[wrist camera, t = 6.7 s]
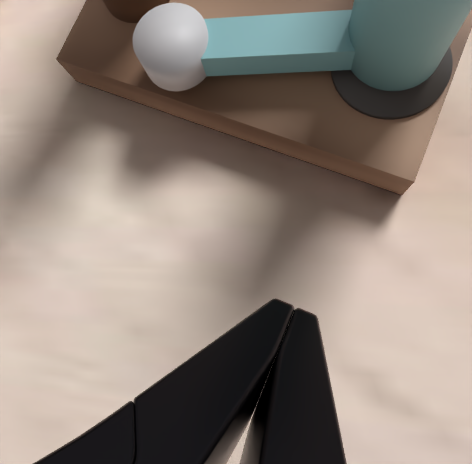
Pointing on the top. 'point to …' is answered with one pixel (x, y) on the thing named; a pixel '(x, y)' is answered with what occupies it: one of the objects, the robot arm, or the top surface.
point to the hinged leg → (301, 42)
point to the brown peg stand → (274, 93)
